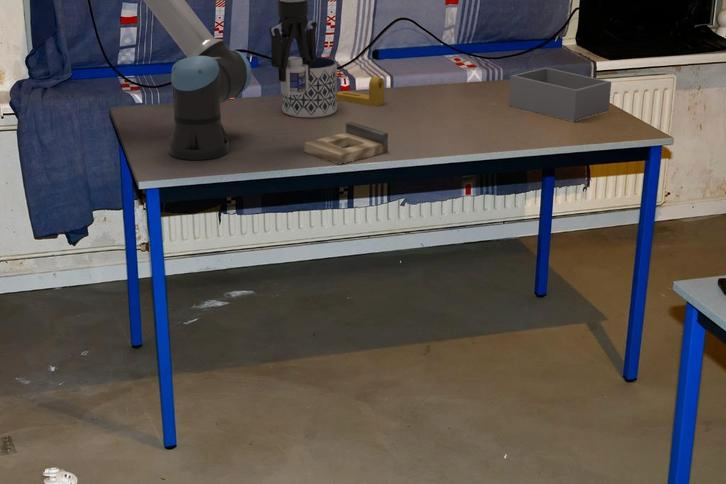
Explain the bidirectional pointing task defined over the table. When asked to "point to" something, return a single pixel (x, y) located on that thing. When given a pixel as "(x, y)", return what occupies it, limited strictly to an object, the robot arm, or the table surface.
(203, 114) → the robot arm
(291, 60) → the pill bottle
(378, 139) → the jig
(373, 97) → the bracket
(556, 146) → the table surface
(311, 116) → the planter
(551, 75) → the open gray rectangular box
